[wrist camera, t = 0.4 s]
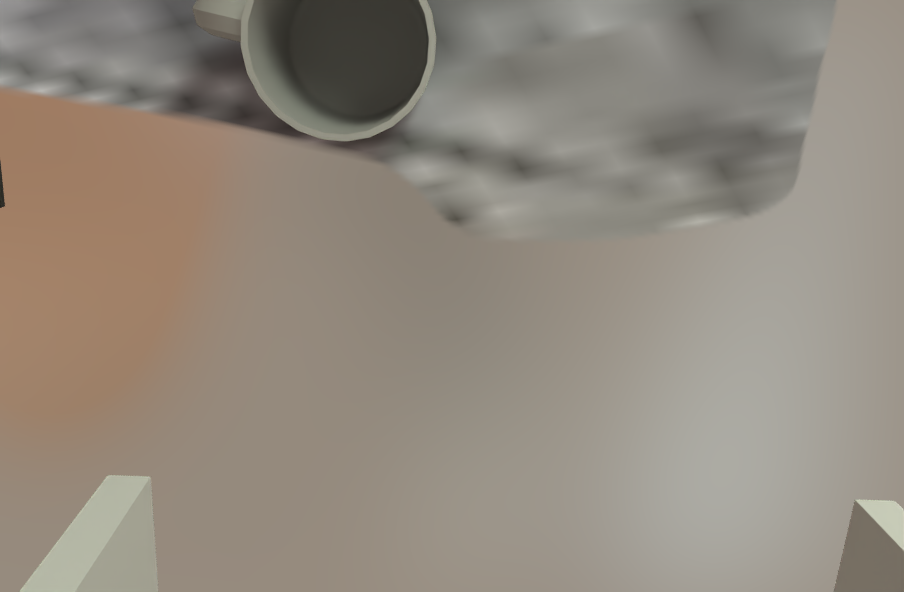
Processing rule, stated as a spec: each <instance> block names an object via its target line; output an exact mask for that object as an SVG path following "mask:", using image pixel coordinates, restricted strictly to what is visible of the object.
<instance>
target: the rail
mask: <svg viewBox="0 0 904 592" xmlns="http://www.w3.org/2000/svg"><path fill="white" fill-rule="evenodd" d="M4 206H5V203H4V193H3V183H2V173H1V163H0V208H1V207H4Z"/></svg>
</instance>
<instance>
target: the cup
mask: <svg viewBox="0 0 904 592" xmlns="http://www.w3.org/2000/svg"><path fill="white" fill-rule="evenodd" d="M192 9H193V13H194V16H195V20H196V24H197V25H198V26H199V27H201V28H202V29H204V30H205V31H207V32H208V33H210V34H212V35H214V36H218V37H222V38H226V39H230V40H234V41H238V42H241V50H242V54H243V58H244V63H245V67H246V71H247V74H248V76H249V78H250V80H251V82H252V83H253V85H254V87H255V89H256V91H257V93H258V95H259V97H260V98H261V99H262V100H263V101H264V102H265V103H266V105H267V106H268V107H269V108H270V109H271V110H272V111H273V113H274V114H275V115H276V116H277V117H279V118H280V119H282V120H283V121H284V122H286V123H287V124H289V125H290V126H292V127H293V128H295V129H296V130H298V131H300V132H303V133H306V134H308V135H311V136H314V137H317V138H319V139H323V140H335V141H352V140H357V139H363V138H369V137H372V136H374V135H376V134H378V133H380V132H382V131H384V130H387V129H389V128H391V127H393V126H394V125H395V124H396V123H397V122H399V121H400V120H401V119H402V118H403V117H404V116H406V115H407V114H408V113H409V112H410V111H411V110H412V109H413V107H414V106H415V104H416V103H417V101H418V100H419V98H420V97H421V95H422V94H423V92H424V91H425V89H426V87H427V84H428V81H429V78H430V75H431V72H432V69H433V67H434V60H435V47H436V34H435V28H434V23H433V17H432V11H431V9H430V7H429V5H428V2H427V0H197V1H196V3H195V4H194V6H193V8H192Z"/></svg>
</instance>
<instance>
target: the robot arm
mask: <svg viewBox="0 0 904 592" xmlns="http://www.w3.org/2000/svg"><path fill="white" fill-rule="evenodd" d="M153 519H154V518H153V505H152V490H151V477H148V476H117V475H115V476H114V475H108V476H107V477H106V478H105V480H104V481H103V482H102V484H101V485H100V487H99V488H98V489H97V490H96V492H95V493H94V494H93V495H92V497H91V498H90V499H89V501H88V502H87V503H86V505H85V506H84V507H83V509H82V510H81V511H80V513H79V514H78V515H77V516H76V518H75V519H74V520H73V522H72V523H71V524H70V526H69V527H68V528H67V530H66V531H65V532H64V534H63V535H62V536H61V538H60V539H59V540H58V541H57V543H56V544H55V545H54V547H53V548H52V549H51V551H50V552H49V553H48V555H47V556H46V557H45V558H44V560H43V561H42V562H41V564H40V565H39V566H38V568H37V569H36V570H35V572H34V573H33V574H32V576H31V577H30V578H29V580H28V581H27V582H26V584H25V585H24V586H23V587H22V589H21V590H20V591H19V592H158V578H157V563H156V548H155V534H154V520H153ZM834 592H904V509H902V508H901V507H900V506H899V505H898V504H897V503H896V502H895V501H883V500H855V502H854V506H853V511H852V515H851V519H850V524H849V528H848V532H847V537H846V541H845V545H844V549H843V554H842V558H841V562H840V567H839V571H838V575H837V580H836V584H835V588H834Z"/></svg>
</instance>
